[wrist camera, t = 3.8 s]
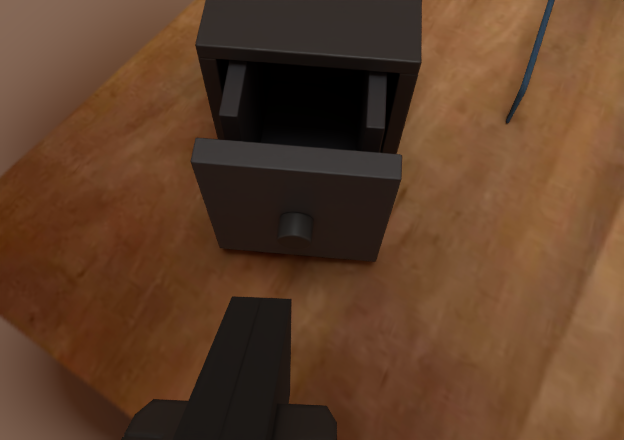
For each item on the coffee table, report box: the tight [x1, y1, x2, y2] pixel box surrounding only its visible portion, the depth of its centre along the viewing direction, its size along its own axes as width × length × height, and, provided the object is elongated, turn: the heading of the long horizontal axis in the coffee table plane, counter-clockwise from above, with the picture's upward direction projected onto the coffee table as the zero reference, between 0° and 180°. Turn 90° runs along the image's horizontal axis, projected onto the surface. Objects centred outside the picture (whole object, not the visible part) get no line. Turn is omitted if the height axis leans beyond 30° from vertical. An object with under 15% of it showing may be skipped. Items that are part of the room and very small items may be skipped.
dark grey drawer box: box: [195, 0, 422, 154], centre depth 31 cm, size 13×10×11 cm
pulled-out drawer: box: [191, 60, 402, 262], centre depth 29 cm, size 13×8×9 cm, turn 175°
